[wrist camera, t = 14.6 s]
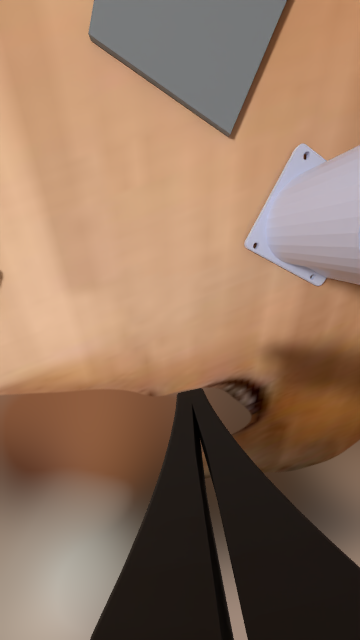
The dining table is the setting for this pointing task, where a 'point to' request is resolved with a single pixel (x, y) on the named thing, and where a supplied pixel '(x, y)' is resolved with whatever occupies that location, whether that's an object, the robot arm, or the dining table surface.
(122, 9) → the mat
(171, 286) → the dining table surface
